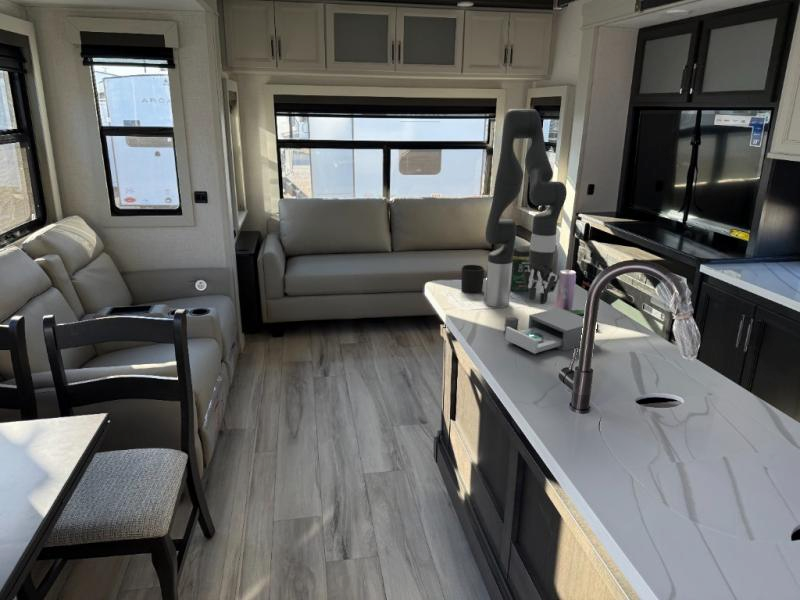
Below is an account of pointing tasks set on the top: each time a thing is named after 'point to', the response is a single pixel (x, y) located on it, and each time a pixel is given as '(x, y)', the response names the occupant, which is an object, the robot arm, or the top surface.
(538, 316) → the box
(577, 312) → the disk drive
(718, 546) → the top surface
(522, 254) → the coffee jar
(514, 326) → the pedestal
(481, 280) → the pen holder
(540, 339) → the disc
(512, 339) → the tray
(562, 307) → the beverage can
